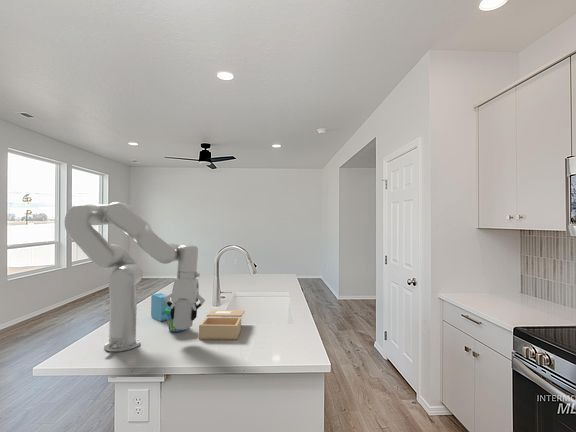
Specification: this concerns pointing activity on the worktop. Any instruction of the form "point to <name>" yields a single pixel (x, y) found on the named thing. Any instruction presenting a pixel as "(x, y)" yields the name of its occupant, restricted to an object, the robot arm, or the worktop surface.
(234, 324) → the box
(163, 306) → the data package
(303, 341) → the worktop surface
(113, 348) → the robot arm
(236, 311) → the lid
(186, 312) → the can
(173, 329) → the snack cup
